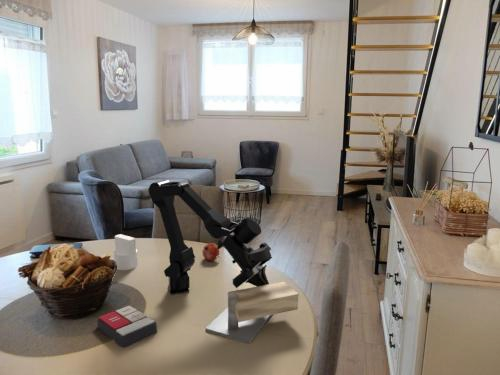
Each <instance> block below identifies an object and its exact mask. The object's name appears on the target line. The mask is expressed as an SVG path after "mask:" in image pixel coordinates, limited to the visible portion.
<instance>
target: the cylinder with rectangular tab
mask: <svg viewBox="0 0 500 375" xmlns="http://www.w3.org/2000/svg"><path fill="white" fill-rule="evenodd" d="M136 242H137V241H136V238H135V237H132V236H128V235H127V234H126V235H124V234H121V233H120V234H116V235H114V245H115V246H114V247H115V250H114V251H113V260H114V261H116V262H117V264H118V269H117V270H118V271H130V270H133V269H136V268H137V267H138V266H139V257H138V256H139V255H138V249H137V245H136V244H137V243H136Z"/></svg>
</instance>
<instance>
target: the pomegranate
mask: <svg viewBox="0 0 500 375" xmlns="http://www.w3.org/2000/svg"><path fill="white" fill-rule="evenodd" d="M202 257H204V259H206V260H208V262H209V261H211V262H213V261H215V260H216V259H217V258H220V249H218V245H217V244H216V243H214V242H208V243H207V244H205V245H204V247H203V248H202Z"/></svg>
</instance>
